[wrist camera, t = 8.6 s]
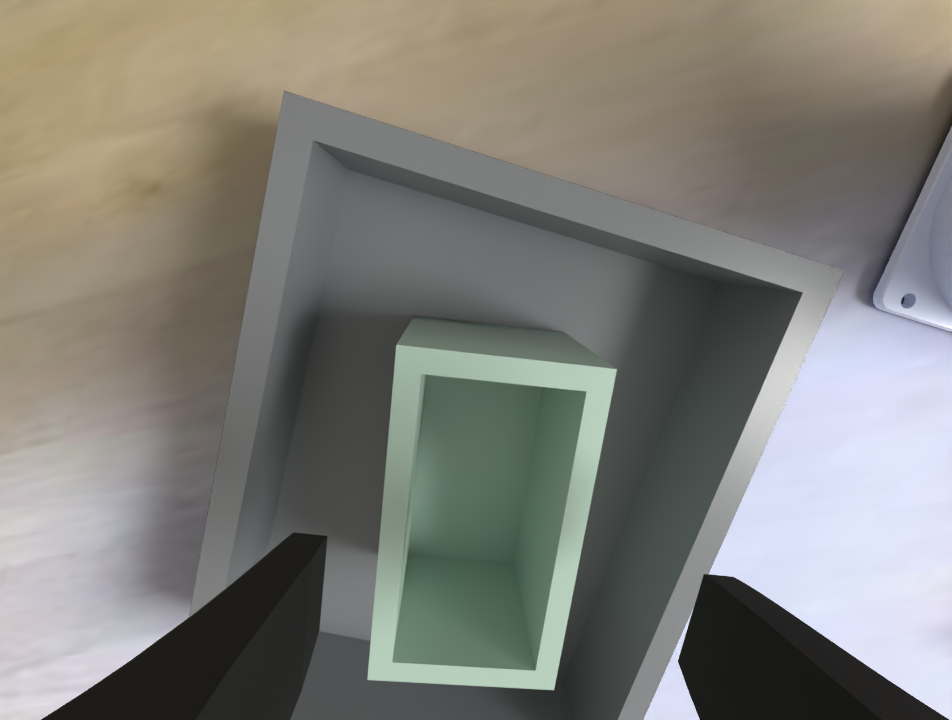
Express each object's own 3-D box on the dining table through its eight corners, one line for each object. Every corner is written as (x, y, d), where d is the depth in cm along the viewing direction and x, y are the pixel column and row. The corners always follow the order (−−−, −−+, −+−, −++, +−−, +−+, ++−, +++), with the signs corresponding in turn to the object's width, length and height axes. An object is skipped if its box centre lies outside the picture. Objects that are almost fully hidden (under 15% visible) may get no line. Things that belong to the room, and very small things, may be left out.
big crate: (736, 265, 16) (844, 270, 12) (571, 680, 20) (605, 803, 15) (335, 140, 14) (284, 90, 10) (237, 615, 18) (168, 731, 14)
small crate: (564, 332, 15) (617, 369, 10) (525, 567, 17) (554, 690, 12) (414, 315, 15) (396, 344, 10) (391, 557, 17) (367, 679, 12)
